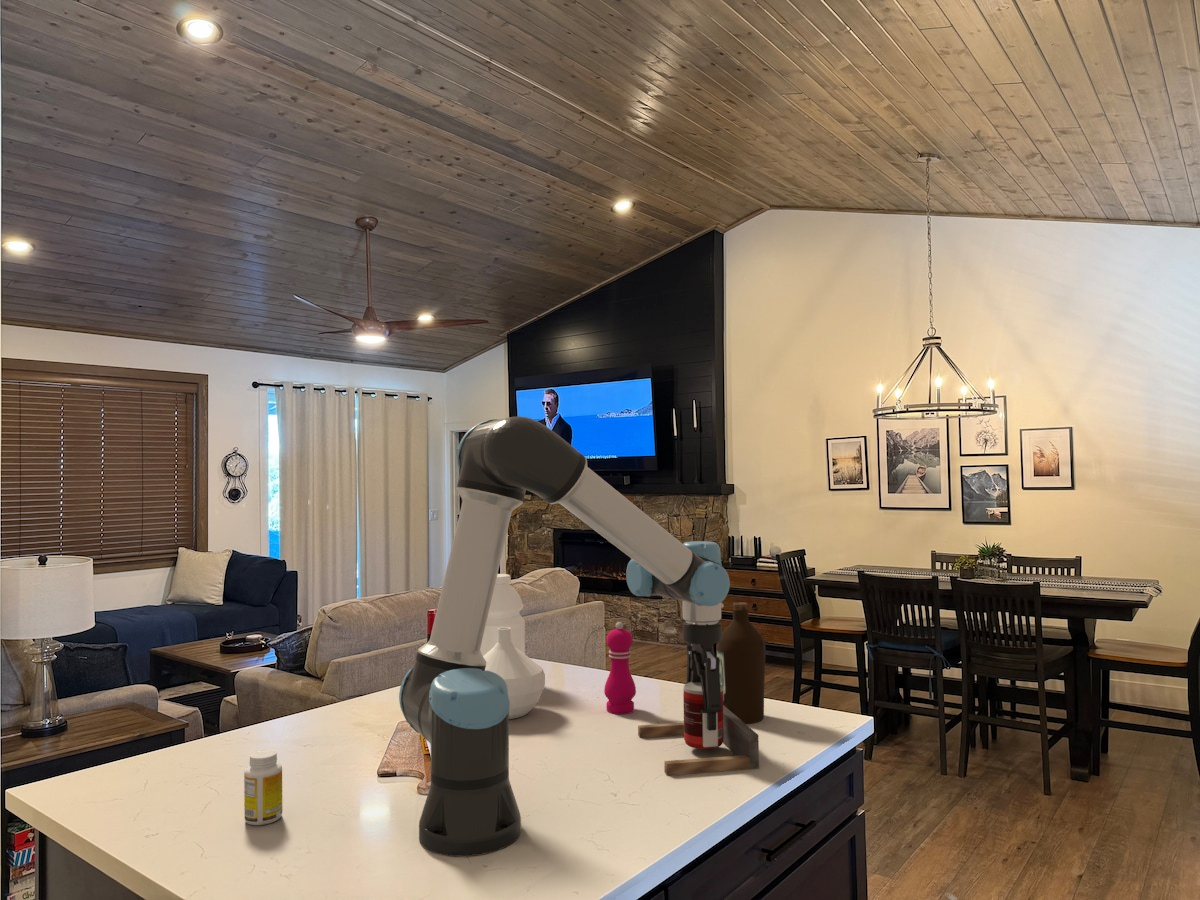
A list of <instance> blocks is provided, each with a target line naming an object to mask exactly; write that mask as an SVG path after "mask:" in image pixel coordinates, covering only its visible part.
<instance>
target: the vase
mask: <svg viewBox="0 0 1200 900" xmlns="http://www.w3.org/2000/svg"><path fill="white" fill-rule="evenodd" d="M483 657H484V659H485V661H486V662H487V663H486V667H485V671H487V670H488V671H491V672H494V673H496V674H498V675H499V676H500V677H502V678H503V679H504V681H505V682H506V684H507V689H508V697H509V701H510V705H509V707H510V708H509V720H514V719H518V718H521V717H524V716H526V715H527V714H528V713H530V711H532V710H533V709H534V708H535V706H536V705H537V703H538V702H539V701H540V698H541V697H542V695H543V694H542V693H543V691H544V689H545V685H546V673H545V671H544V668H543V667H542V666H541V665H540V664H539V663H537V662H536V661H535V660H533V659H532V658H531V657H529V656H527V655H526V653H525V654H524V653H522V652H521V651H520V650H519V649H517V648H516V647H515V646H514V645H513V643H512V642H511V628H509V627H501V628H498V640H497V643H496V645H495V646H494V647H493V648H492V649H491V650H490V651H489V652H488V653H486V654H485V655H484V656H483Z"/></svg>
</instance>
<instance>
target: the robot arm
mask: <svg viewBox="0 0 1200 900" xmlns="http://www.w3.org/2000/svg"><path fill="white" fill-rule="evenodd" d="M456 461H457V466H458V469H459V476H458V481H457V483H456V484H457V485H456V488H455V489H456V491H457V493H458V494H459V496H460V498H461V501H462V503H461V507H460V510H459V516H458V520H457V524H456V528H455V532H454V537H453V541H452V546H451V547H450V548H451V549H450V552H449V558H448V562H447V565H446V570H445V574H444V579H443V582H442V587H441V591H440V595H439V600H438V603H437V607H436V612H435V616H434V621H433V623H432V629H431V634H430V638H429V640H428V641H427V642H426V643H425V644H423V645H421V646H420V647H419V648H417V652H416V655H415V659H414V660H415V661H414V664H413V666H412V667H411V668H410V669H409V670H408V671H407V672H406V674H405V676H404V677H403V679H402V681H401V684H400V688H399V692H398V693H399V694H398V698H399V699H398V700H399V707H400V710H401V712H402V715H403V717H404V719H405V721H406V722H407V723H408V724H409V726H410V728H411V729H412V730H413V731H415V732H416V733H418V734H420V736H422V737H423V738H424V739H425V740H426V741H427V742H428V743H429V744H430V787H429V790H428V793H427V796H426V799H425V803H424V806H423V809H422V812H421V816H420V818H419V824H418V839H419V843H420V845H421V846H422V847H424V848H425V849H427V850H428V851H430V852H433V853H436V854H439V855H444V856H453V857H466V856H467V857H468V856H478V855H483V854H484V855H485V854H489V853H492V852H493V853H494V852H495V851H499V850H502V849H504V848H506V847H507V846H510V845H511V844H513V843H514V842H515V841H516V840H517V839H518V838H519V837H520V835H521V832H522V817H521V812H520V810H519V807H518V803H517V800H516V797H515V794H514V790H513V787H512V784H511V782H510V775H509V771H510V769H509V768H510V762H509V761H510V757H509V755H510V750H509V746H510V745H509V744H510V743H509V742H510V733H509V732H510V729H509V728H510V727H509V726H510V723H509V722H510V719H509V708H510V707H509V705H510V701H509V697H508V689H507V684H506V682H505V681H504V679H503V678H502V677H500V676H499V675H498V674H496V673H494V672H491V671H488V670H487V671H485V667H486V663H487V662H486V661H485V659H484V657H483V656H482V654H481V651H480V648H481V644H482V640H483V635H484V631H485V626H486V622H487V618H488V613H489V609H490V605H491V600H492V596H493V592H494V587H495V583H496V579H497V574H499V569H500V565H501V560H502V556H503V552H504V547H505V543H506V539H507V534H508V530H509V524H510V521H511V516H512V513H513V512H514V511H515V510H516V509H517V508H519V507H520V506H522V505H523V504H524V500H525V496H526V491H528V492H530V493H533V494H534V495H536V496H538V497H540V498H541V499H542V500H544V501H545V502H547V503H548V504H550V505H556V504H559V505H561V506H562V507H563V508H565V509H566V510H567V511H569V512H570V513H571V514H572V515H573V516H575V517H576V518H578V519H579V520H580V521H581V522H582V523H584V524H585V525H586V526H588V527H590V528H591V529H592V530H594V531H595V532H596V533H597V534H598V535H600V536H601V537H603V538H604V539H606V540H607V541H608V543H610V544H612V545H613V546H615V547H616V548H617V549H619V550H620V551H621V552H622V553H624V554H625V555H626V556H628V557H629V558H630V560H629V562H628V563H627V566H626V571H625V572H626V573H625V575H626V577H625V578H626V580H625V581H626V583H627V587H628V589H629V591H630V593H632V594H633V595H634V596H636V597H647V598H649V597H652V596H659V597H663V598H669V599H673V600H676V601H677V600H678V601H681V602H682V604H681V605H682V619H683V620H684V622H683V623H682V639H683V641H684V642H686V643H687V644H686V654H687V660H686V661H687V662H686V681H685V682H686V683H685V684H687V683H690V682H693V683H699V682H701V686H702V691H703V702H704V709H702V710H701V713H703V747H716V746H718V718H717V712H720V711H722V706H721V690H720V674H719V665H720V659H719V657H717V656H716V652H714V645H715V644H717V643H719V642H721V640H722V632H723V628H722V626H723V624H722V623H721V622H720V621H721V620H722V609H723V608H724V603H722V602H723V601H724V600H725V599H726V597H727V595H728V593H729V591H730V587H731V586H730V585H731V582H730V581H731V580H730V576H729V573H728V571H727V570H726V569H725V568H724V567H723V564H722V557H721V556H722V555H721V548H720V545H719V544H718V543H717V542H714V541H703V540H701V541H700V540H698V541H697V540H695V541H685V542H683V543H682V542H681V541H680V540H678V539H677V538H676V537H675V536H673V535H672V534H671V533H670V532H669V531H668V530H666V529H665V528H664V527H662V526H661V524H659V523H658V522H656V521H655V520H654V519H653V518H651V517H650V516H649V515H648V514H646V513H645V512H644V511H642V509H640V507H637V505H635V504H634V503H633V502H631V500H629V499H628V498H626V496H624V495H623V494H622V493H621V492H619V491H618V490H616V489H615V488H614V487H613V486H612V485H611V484H609V483H608V482H607V481H606V480H604V479H603V478H602V477H601V476H600V475H598V474H597V473H596V472H595V471H593V470H592V469H591V468H590V467H588V460H587V457H586V456H584V455H583V453H581V452H580V451H579V450H577V449H576V448H575V447H574V446H572V445H571V444H570V443H569V442H568V441H566V439H564V438H562V436H560V435H559V434H557V432H555V431H553V430H552V429H551V428H549V427H548V426H546V425H545V424H543V423H541V422H540V421H538V420H536V419H533V418H530V417H527V416H518V415H517V416H511V417H506V418H500V419H497V418H496V419H488V420H487V419H486V420H485V421H482V422H479V423H477V424H476V425H475V426H473V427H472V428H470V429H469V430H468V431H467V432H465V434H464V435H463V437H462V438H461V440H460V442H459V443H458V447H457V451H456Z"/></svg>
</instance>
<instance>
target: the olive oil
mask: <svg viewBox="0 0 1200 900" xmlns="http://www.w3.org/2000/svg"><path fill="white" fill-rule="evenodd" d="M732 607H733V609H732V621H731V622H730V623H729V624H728V625H727V626H726V627H725V628H724V629H723V630H722V640H721V642H719V643H716V657H719V659H720V665H719V674H720V685H722V686H723V705H724V706H725V707H726V708H727V709H728V710H730V711H731V712H732V713H733V714H734V715H736V716H737V717H738V718H739V719H740V720H741V721H743V722H744V723H745V724H754V723H759V722H761V721H763V719H764V718H765V679H766V678H765V676H766V673H765V672H766V655H767V654H766V652H767V651H766V642H765V640H764V637H763V636H762V634H761V633H760V631H759V630H757V628H756V627H755V626H754V625H753V624H752V623H751V622H750V620H749V609H748V603H747V602H745V601H744V602H742V601H739V602H737V601H736V602H733V604H732Z"/></svg>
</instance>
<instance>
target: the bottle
mask: <svg viewBox="0 0 1200 900" xmlns="http://www.w3.org/2000/svg"><path fill="white" fill-rule="evenodd" d="M511 581H512V579H511V574H508V573H498V574H497V579H496V583H495V587H494V592H493V596H492V600H491V605H490V609H489V613H488V618H487V622H486V626H485V631H484V635H483V640H482V644H481V648H480V651H481V654H482V656H484V655H485V654H486V653H488V652H489V651H490V650H491V649H492V648H493V647H494V646H495V645H496V643H497V640H498V628H501V627H509V628H511V642H512V643H513V645H514V646H515V647H516V648H517V649H519V650H520V651H521V652H522V653H524V654H525V655H526V647H525V646H526V620H525V618H524V617H523V616H522V615H521V611H522V610H523V609H524V607H525V606H524V604H523V600H522V597H521V596H520V594H519V593H518V591H517V590H516V589H515V588H514V587H513V586H512V585H511V584H510V583H511Z"/></svg>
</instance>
